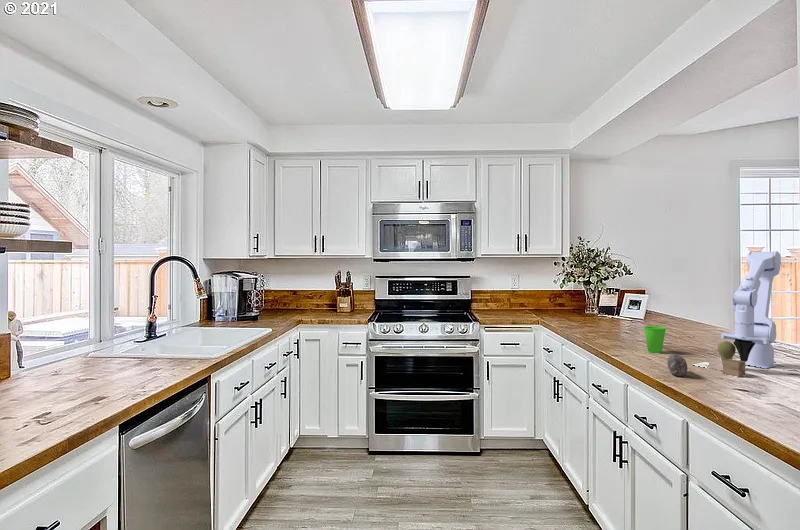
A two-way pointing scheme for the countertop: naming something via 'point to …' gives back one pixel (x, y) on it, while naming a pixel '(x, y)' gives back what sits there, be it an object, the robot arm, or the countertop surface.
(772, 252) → the robot arm
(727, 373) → the walnut block
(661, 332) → the cup
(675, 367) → the perforated stone tool
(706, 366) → the letter
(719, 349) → the light bulb
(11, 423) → the countertop surface
